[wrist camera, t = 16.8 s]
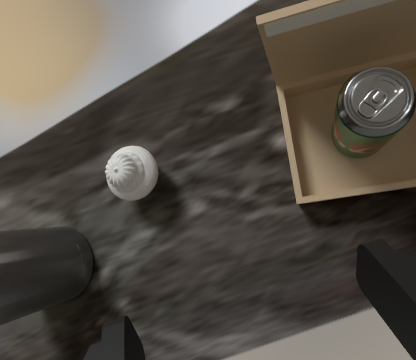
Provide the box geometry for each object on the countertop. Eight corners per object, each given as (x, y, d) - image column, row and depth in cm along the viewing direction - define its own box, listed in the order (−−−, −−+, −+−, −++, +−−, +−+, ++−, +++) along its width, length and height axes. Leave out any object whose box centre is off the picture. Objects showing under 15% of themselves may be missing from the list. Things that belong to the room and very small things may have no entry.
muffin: (114, 173, 43) (78, 166, 36) (149, 140, 42) (118, 127, 35) (142, 212, 42) (109, 212, 35) (179, 178, 41) (152, 173, 34)
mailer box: (298, 204, 36) (287, 201, 22) (278, 89, 38) (255, 16, 23) (450, 181, 32) (560, 160, 18) (421, 55, 34) (500, -59, 20)
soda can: (397, 128, 34) (439, 86, 22) (363, 169, 34) (386, 149, 23) (352, 99, 35) (370, 46, 24) (320, 139, 36) (322, 107, 24)
